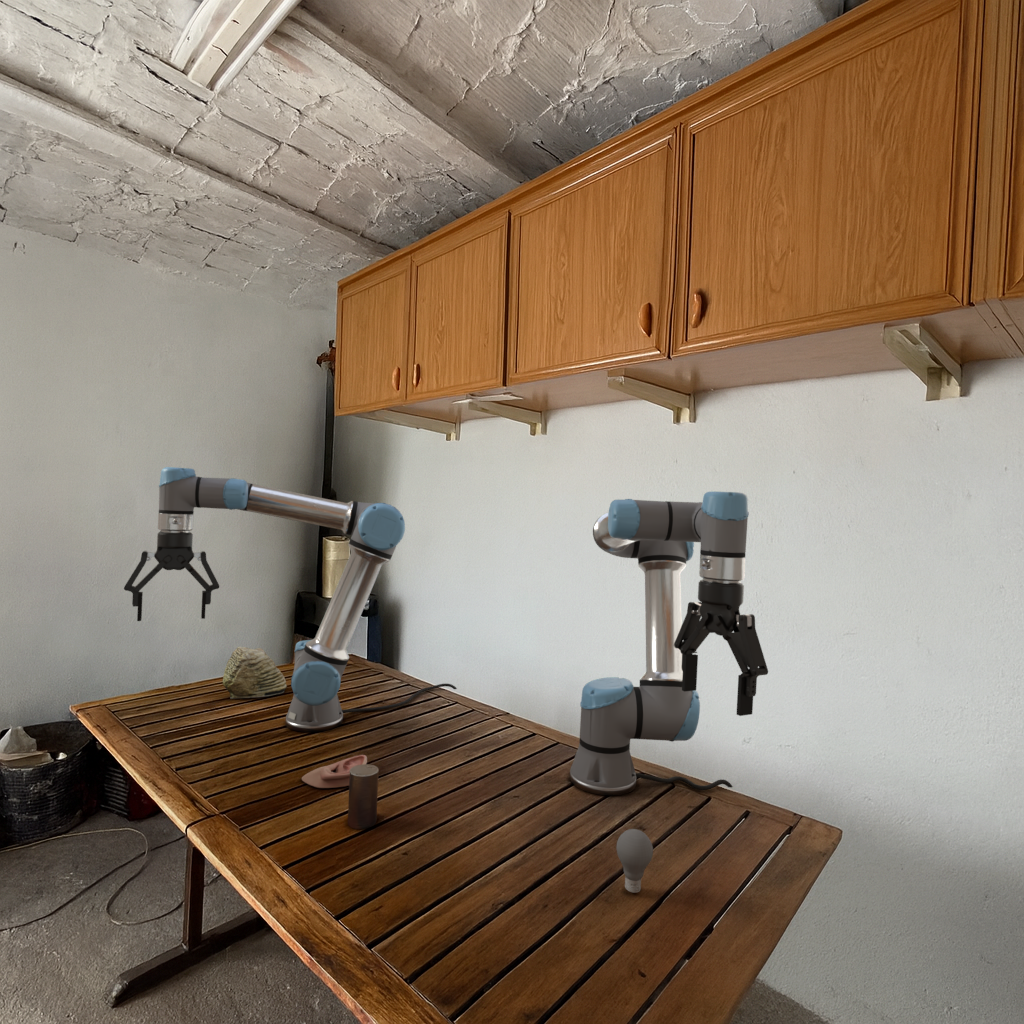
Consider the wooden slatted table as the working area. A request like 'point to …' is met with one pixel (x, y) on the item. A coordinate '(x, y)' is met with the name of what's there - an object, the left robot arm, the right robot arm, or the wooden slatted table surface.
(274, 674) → the fossil
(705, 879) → the wooden slatted table surface
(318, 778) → the anatomical model
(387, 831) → the wooden slatted table surface
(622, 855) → the light bulb
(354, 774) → the can
